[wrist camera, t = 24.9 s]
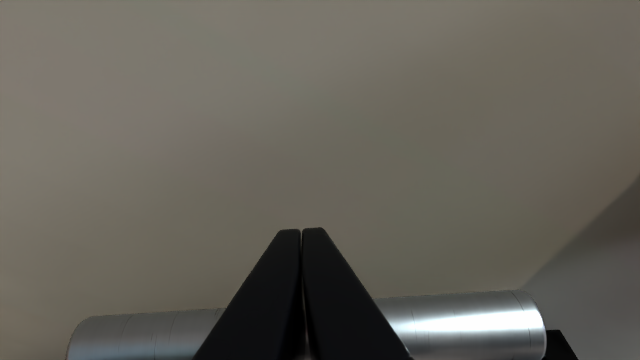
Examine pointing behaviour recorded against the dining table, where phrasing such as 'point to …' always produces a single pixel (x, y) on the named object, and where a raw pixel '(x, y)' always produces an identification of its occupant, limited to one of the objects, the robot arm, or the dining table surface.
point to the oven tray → (401, 312)
